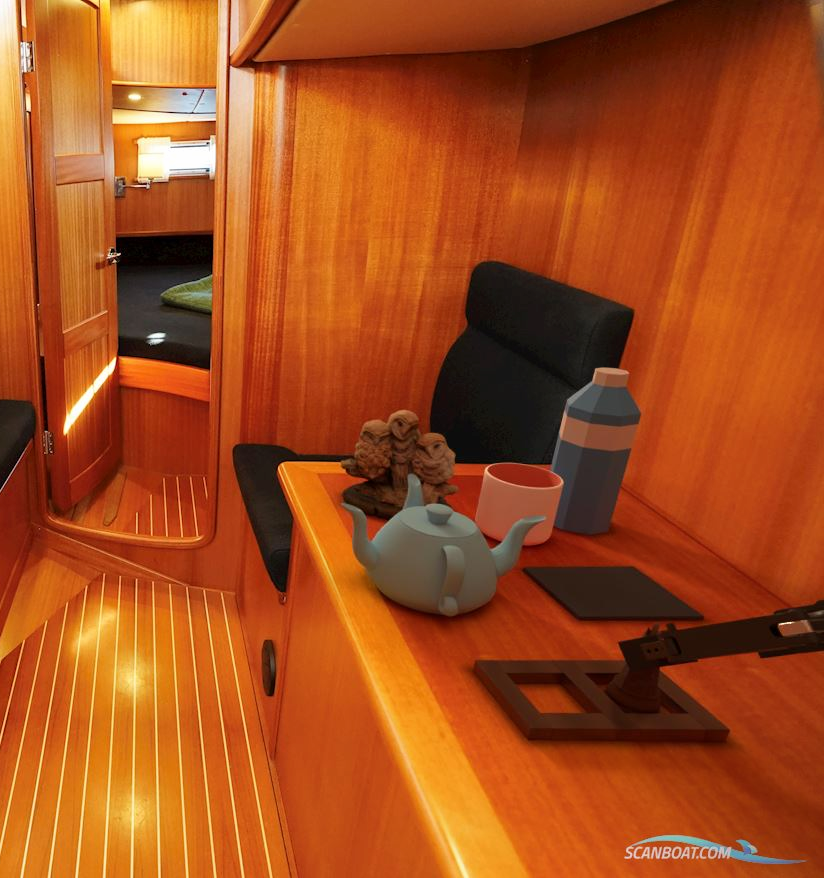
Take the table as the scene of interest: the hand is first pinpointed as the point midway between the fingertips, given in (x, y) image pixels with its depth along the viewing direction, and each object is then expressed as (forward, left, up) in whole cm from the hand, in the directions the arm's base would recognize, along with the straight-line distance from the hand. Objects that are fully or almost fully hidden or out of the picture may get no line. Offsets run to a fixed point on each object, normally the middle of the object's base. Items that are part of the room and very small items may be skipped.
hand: (692, 650), depth 67 cm
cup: (-8, -42, -10) cm, 44 cm away
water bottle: (-20, -46, -10) cm, 51 cm away
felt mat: (-11, -25, -10) cm, 29 cm away
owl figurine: (+6, -52, -10) cm, 53 cm away
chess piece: (0, -4, -10) cm, 11 cm away
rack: (+5, -4, -10) cm, 12 cm away
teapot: (+11, -27, -10) cm, 31 cm away
